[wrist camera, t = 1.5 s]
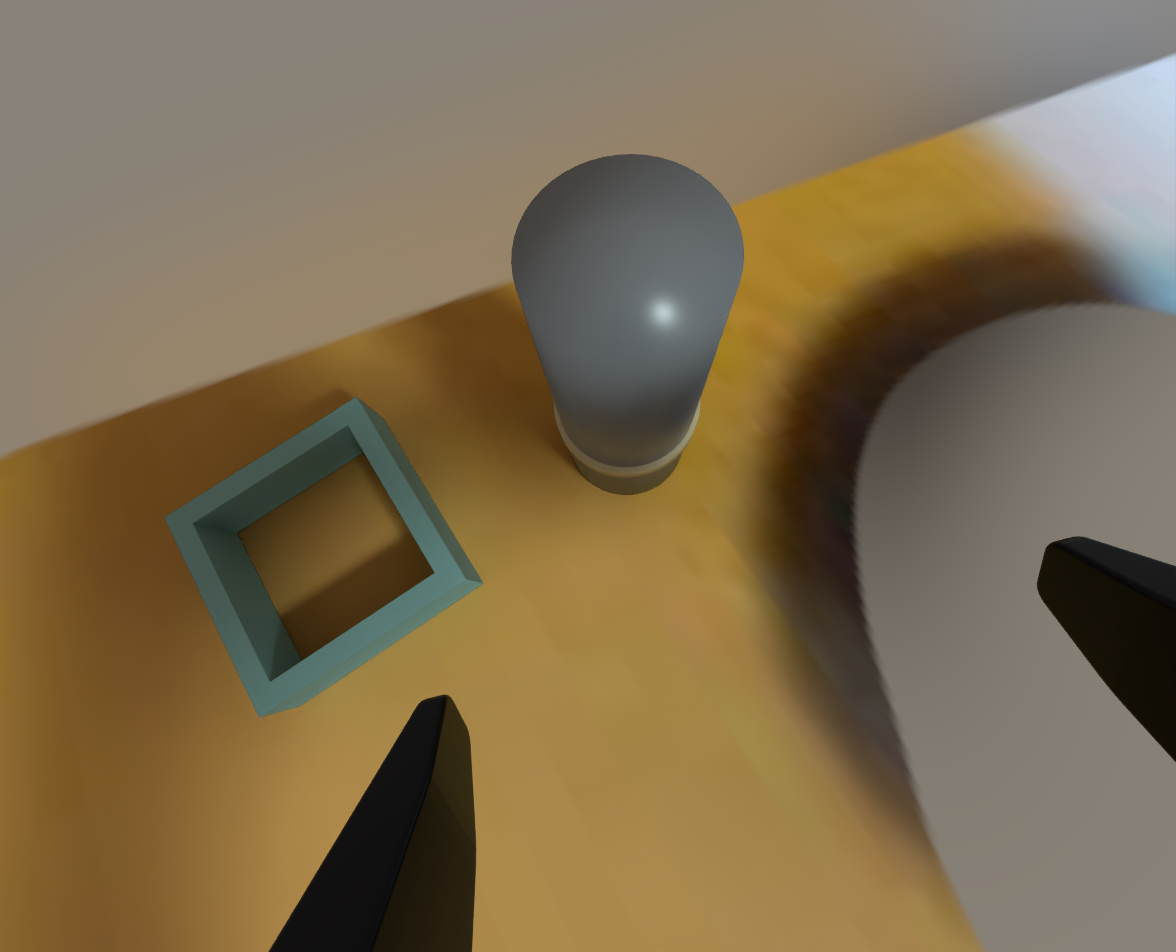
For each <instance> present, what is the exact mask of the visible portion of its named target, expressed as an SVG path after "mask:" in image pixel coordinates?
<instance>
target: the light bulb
mask: <svg viewBox="0 0 1176 952" xmlns="http://www.w3.org/2000/svg"><path fill="white" fill-rule="evenodd" d="M743 261H744V247H743V239H742V234H741V230H740V226H739V224H738V221H737V219H736V216H735V214H734V212H733V210H732V209H731V207H730V205H729V203H728V202H727V201H726V199H725V198H724V197H723V195H722V194H721V193H720V192H719V191H718V190H717V189H716V188H715V187H714V186H713V185H712V184H711V183H710V182H709V181H707V180H706V179H705V178H703V177H702V176H701V175H700V174H698V173H696V172H694V171H693V170H691V169H689V168H687V167H685V166H683V165H681V164H678V163H676V162H673V161H670V160H667V159H663V158H659V157H653V156H648V155H636V154H626V155H614V156H607V157H602V158H598V159H595V160H591V161H588V162H585V163H583V164H580V165H578V166H575V167H574V168H572V169H570V170H568V171H566V172H564V173H563V174H561V175H560V176H558V177H557V178H556V179H554V180H552V181H551V182H550V183H549V184H548V185H547V186H546V187H544V188H543V189H542V190H541V191H540V192H539V194H538V195H537V196H536V197H535V198H534V199H533V200H532V202H531V203H530V205H529V206H528V208H527V209H526V211H525V212H524V214H523V216H522V218H521V220H520V222H519V225H518V227H517V230H516V234H515V236H514V241H513V247H512V261H511V264H512V273H513V279H514V283H515V287H516V290H517V293H518V296H519V299H520V302H521V305H522V308H523V311H524V314H525V317H526V320H527V323H528V326H529V329H530V332H531V335H532V338H533V341H534V344H535V347H536V350H537V353H538V356H539V359H540V361H541V364H542V367H543V370H544V373H545V376H546V379H547V382H548V385H549V388H550V391H551V394H552V397H553V400H554V402H553V407H554V416H555V419H556V423H557V426H558V429H559V432H560V434H561V437H562V439H563V441H564V443H565V444H566V446H567V448H568V449H569V450H570V451H571V454H572V457H573V459H574V462H575V464H576V466H577V468H578V469H579V471H580V472H581V473H582V475H583V476H584V477H585V478H586V479H587V480H588V481H589V482H590V483H592V484H593V485H595V486H596V487H598V488H600V489H602V490H604V491H607V492H610V493H614V494H620V495H633V494H639V493H643V492H646V491H649V490H651V489H653V488H655V487H657V486H658V485H660V484H661V483H662V482H664V481H665V480H666V479H667V478H668V477H669V476H670V475H671V473H672V472H673V471H674V469H675V467H676V466H677V464H678V462H679V459H680V457H681V454H682V451H683V450H684V449H685V447H686V446H687V444H688V443H689V441H690V439H691V437H692V435H693V432H694V429H695V427H696V424H697V421H698V417H699V412H700V398H701V395H702V392H703V389H704V386H705V383H706V380H707V377H708V374H709V371H710V368H711V365H712V362H713V359H714V357H715V354H716V351H717V348H718V345H719V342H720V339H721V336H722V333H723V330H724V327H725V324H726V321H727V318H728V315H729V312H730V309H731V306H732V303H733V301H734V298H735V295H736V292H737V289H738V286H739V283H740V279H741V275H742V270H743Z"/></svg>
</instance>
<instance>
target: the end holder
mask: <svg viewBox="0 0 1176 952" xmlns="http://www.w3.org/2000/svg"><path fill="white" fill-rule="evenodd" d="M363 452H364V454H365V455H366V457H367V459H368V460H369V462H370V464H371V466H372V467H373V469H374V471H375V472H376V474H377V476H378V477H379V479H380V481H381V483H382V484H383V486H384V488H385V489H386V491H387V493H388V494H389V496H390V498H391V500H392V501H393V503H394V505H395V506H396V508H397V510H398V511H399V513H400V515H401V517H402V518H403V520H404V522H405V523H406V525H407V527H408V528H409V530H410V532H411V534H412V535H413V537H414V539H415V540H416V542H417V544H418V545H419V547H420V549H421V551H422V552H423V554H424V556H425V557H426V559H427V561H428V562H429V564H430V566H431V568H432V569H433V571H434V574H432V575H431V576H429V577H428V578H426V579H425V580H423V581H422V582H420V583H419V584H417V585H416V586H414V587H413V588H411V589H410V590H408V591H407V592H405V593H404V594H402V595H401V596H399V597H398V598H396V599H395V600H393V601H392V602H390V603H388V604H387V605H385V606H384V607H382V608H381V609H379V610H378V611H376V612H375V613H373V614H372V615H370V616H369V617H367V618H366V619H364V620H363V621H361V622H360V623H358V624H357V625H355V626H354V627H352V628H351V629H349V630H348V631H346V632H345V633H343V634H342V635H340V636H339V637H337V638H336V639H334V640H333V641H331V642H330V643H328V644H327V645H325V646H324V647H322V648H321V649H319V650H318V651H316V652H315V653H313V654H312V655H310V656H308V657H307V658H305V659H304V660H302V661H301V659H300V657H299V655H298V653H297V651H296V649H295V647H294V645H293V643H292V641H291V639H290V637H289V635H288V633H287V631H286V629H285V627H284V625H283V623H282V621H281V619H280V617H279V615H278V613H277V611H276V609H275V607H274V605H273V603H272V601H271V599H270V597H269V595H268V593H267V591H266V590H265V588H264V586H263V584H262V582H261V580H260V578H259V576H258V574H257V572H256V570H255V568H254V566H253V564H252V562H251V560H250V558H249V556H248V554H247V552H246V550H245V548H244V546H243V544H242V542H241V540H240V538H239V536H238V534H237V533H238V532H239V531H241V530H242V529H244V528H245V527H247V526H249V525H250V524H252V523H253V522H255V521H256V520H258V519H260V518H261V517H263V516H264V515H266V514H267V513H269V512H271V511H272V510H274V509H275V508H277V507H278V506H280V505H282V504H283V503H285V502H286V501H288V500H289V499H291V498H293V497H294V496H296V495H297V494H299V493H300V492H302V491H304V490H305V489H307V488H308V487H310V486H311V485H313V484H315V483H316V482H318V481H319V480H321V479H322V478H324V477H325V476H327V475H329V474H330V473H332V472H333V471H335V470H336V469H338V468H340V467H341V466H343V465H344V464H346V463H347V462H349V461H351V460H352V459H354V458H355V457H357V456H358V455H360V454H362V453H363ZM164 518H165V520H166V523H167V525H168V527H169V529H170V531H171V533H172V535H173V537H174V539H175V542H176V544H177V546H178V548H179V550H180V552H181V554H182V556H183V558H184V560H185V563H186V565H187V567H188V569H189V571H190V573H191V575H192V577H193V579H194V581H195V584H196V586H197V588H198V590H199V592H200V594H201V596H202V598H203V600H204V603H205V605H206V607H207V609H208V611H209V613H210V615H211V617H212V619H213V621H214V624H215V626H216V628H217V630H218V632H219V634H220V636H221V638H222V640H223V642H224V645H225V647H226V649H227V651H228V653H229V655H230V657H231V659H232V661H233V664H234V666H235V668H236V670H237V672H238V674H239V676H240V678H241V680H242V682H243V685H244V687H245V689H246V691H247V693H248V695H249V697H250V699H251V701H252V704H253V706H254V708H255V710H256V712H257V714H258V716H259V717H262V716H266V715H270V714H273V713H277V712H281V711H284V710H288V709H292V708H295V707H299V706H301V705H302V704H304V703H305V702H307V701H308V700H310V699H311V698H313V697H314V696H316V695H317V694H319V693H320V692H322V691H323V690H325V689H326V688H328V687H329V686H331V685H332V684H334V683H335V682H337V681H338V680H340V679H341V678H343V677H344V676H346V675H347V674H349V673H350V672H352V671H353V670H355V669H356V668H358V667H359V666H361V665H362V664H364V663H365V662H367V661H368V660H370V659H371V658H373V657H374V656H376V655H377V654H379V653H380V652H382V651H383V650H385V649H386V648H388V647H389V646H391V645H392V644H394V643H395V642H397V641H398V640H400V639H401V638H403V637H404V636H406V635H407V634H409V633H410V632H412V631H413V630H414V629H416V628H417V627H419V626H420V625H422V624H423V623H425V622H426V621H428V620H429V619H431V618H432V617H434V616H435V615H437V614H438V613H440V612H441V611H443V610H444V609H446V608H447V607H449V606H450V605H452V604H453V603H455V602H456V601H458V600H459V599H461V598H462V597H464V596H465V595H467V594H468V593H470V592H471V591H473V590H474V589H476V588H477V587H479V586H480V585H482V584H483V582H482V580H481V579H480V577H479V575H478V574H477V572H476V570H475V569H474V567H473V566H472V564H471V562H470V561H469V559H468V557H467V556H466V554H465V552H464V551H463V549H462V547H461V546H460V544H459V543H458V541H457V539H456V538H455V536H454V534H453V533H452V531H451V529H450V528H449V526H448V524H447V523H446V521H445V519H444V518H443V516H442V515H441V513H440V511H439V510H438V508H437V506H436V505H435V503H434V501H433V500H432V498H431V496H430V495H429V493H428V492H427V490H426V488H425V487H424V485H423V483H422V482H421V480H420V478H419V477H418V475H417V473H416V472H415V470H414V468H413V467H412V465H411V464H410V462H409V460H408V459H407V457H406V455H405V454H404V452H403V450H402V449H401V447H400V445H399V444H398V442H397V440H396V439H395V437H394V436H393V434H392V432H391V431H390V429H389V427H388V426H387V424H386V422H385V421H384V419H383V418H382V417H381V416H379V415H378V414H377V413H376V412H374V411H373V410H372V409H371V408H370V407H368V406H367V405H366V404H365V403H363V402H362V401H361V400H360V399H358V398H357V397H355V398H354V399H352V400H351V401H349V402H347V403H346V404H344V405H343V406H341V407H339V408H338V409H336V410H335V411H333V412H331V413H330V414H328V415H327V416H325V417H323V418H322V419H320V420H319V421H317V422H316V423H314V424H312V425H311V426H309V427H308V428H306V429H304V430H303V431H301V432H300V433H298V434H296V435H295V436H293V437H292V438H290V439H288V440H287V441H285V442H284V443H282V444H280V445H279V446H277V447H276V448H274V449H272V450H271V451H269V452H268V453H266V454H265V455H263V456H261V457H260V458H258V459H257V460H255V461H253V462H252V463H250V464H249V465H247V466H245V467H244V468H242V469H241V470H239V471H237V472H236V473H234V474H233V475H231V476H229V477H228V478H226V479H225V480H223V481H222V482H220V483H218V484H217V485H215V486H214V487H212V488H210V489H209V490H207V491H206V492H204V493H202V494H201V495H199V496H198V497H196V498H194V499H193V500H191V501H190V502H188V503H186V504H185V505H183V506H182V507H180V508H179V509H177V510H175V511H174V512H172V513H171V514H169V515H167V516H166V517H164Z"/></svg>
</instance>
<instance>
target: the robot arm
mask: <svg viewBox="0 0 1176 952" xmlns="http://www.w3.org/2000/svg"><path fill="white" fill-rule="evenodd" d="M1037 589H1038V592H1039V595H1040V596H1041V599H1042V600H1043V602H1044V603H1045V604H1046V606H1047V607H1048V608H1049V610H1050V611H1051V612H1052V614H1053V615H1054V616H1055V617H1056V619H1057V620H1058V622H1059V623H1060V624H1061V626H1062V627H1063V628H1064V630H1065V631H1066V632H1067V634H1068V635H1069V636H1070V638H1071V639H1072V640H1073V641H1074V643H1075V644H1076V645H1077V647H1078V648H1079V649H1080V651H1081V652H1082V653H1083V655H1084V656H1085V657H1086V659H1087V660H1088V661H1089V663H1090V664H1091V665H1092V667H1093V668H1094V669H1095V670H1096V672H1097V673H1098V675H1099V676H1100V677H1101V678H1102V680H1103V681H1104V682H1105V683H1106V685H1107V686H1108V687H1109V688H1110V690H1111V691H1112V692H1113V693H1114V694H1115V696H1116V697H1117V698H1118V699H1119V700H1120V701H1121V702H1122V704H1123V705H1124V706H1125V707H1126V708H1127V709H1128V710H1129V711H1130V712H1131V714H1132V715H1133V716H1134V717H1135V718H1136V719H1137V720H1138V721H1139V722H1140V723H1141V724H1142V725H1143V727H1144V728H1145V729H1146V730H1147V731H1148V732H1149V733H1150V734H1151V736H1152V737H1153V738H1154V739H1155V740H1156V741H1157V742H1158V743H1159V744H1160V745H1161V746H1162V748H1163V749H1164V750H1165V751H1166V752H1167V753H1168V754H1169V755H1170V756H1171V757H1172V759H1173V760H1174V761H1175V762H1176V566H1174V565H1170V564H1167V563H1164V562H1161V561H1158V560H1155V559H1152V558H1149V557H1145V556H1142V555H1139V554H1136V553H1133V552H1130V551H1127V550H1124V549H1120V548H1117V547H1114V546H1111V545H1108V544H1105V543H1102V542H1099V541H1095V540H1092V539H1089V538H1086V537H1080V536H1079V537H1071V538H1067V539H1063V540H1059V541H1055V542H1052V543H1050V544H1049V545H1048V546H1047V547H1046V549H1045V553H1044V556H1043V560H1042V565H1041V569H1040V572H1039V577H1038V581H1037ZM475 875H476V831H475V814H474V796H473V779H472V762H471V745H470V737H469V732H468V729H467V726H466V724H465V723H464V721H463V719H462V717H461V715H460V713H459V711H458V709H457V707H456V705H455V703H454V702H453V700H452V698H451V697H450V696H449V695H440V696H436V697H432V698H428V699H425V700H423V701H421V702H420V703H419V704H418V706H417V707H416V709H415V710H414V712H413V714H412V715H411V717H410V719H409V720H408V722H407V724H406V725H405V727H404V729H403V730H402V732H401V734H400V735H399V737H398V738H397V740H396V742H395V743H394V745H393V747H392V748H391V750H390V752H389V753H388V755H387V757H386V758H385V760H384V762H383V763H382V765H381V767H380V768H379V770H378V772H377V773H376V775H375V777H374V778H373V780H372V782H371V783H370V785H369V786H368V788H367V790H366V791H365V793H364V795H363V796H362V798H361V800H360V801H359V803H358V805H357V806H356V808H355V810H354V811H353V813H352V815H351V816H350V818H349V820H348V821H347V823H346V825H345V826H344V828H343V829H342V831H341V833H340V834H339V836H338V838H337V839H336V841H335V843H334V844H333V846H332V848H331V849H330V851H329V853H328V854H327V856H326V858H325V859H324V861H323V863H322V864H321V866H320V868H319V869H318V871H317V872H316V874H315V876H314V877H313V879H312V881H311V882H310V884H309V886H308V887H307V889H306V891H305V892H304V894H303V896H302V897H301V899H300V901H299V902H298V904H297V906H296V907H295V909H294V911H293V912H292V914H291V915H290V917H289V919H288V920H287V922H286V924H285V925H284V927H283V929H282V930H281V932H280V934H279V935H278V937H277V939H276V940H275V942H274V944H273V945H272V947H271V949H270V950H269V952H472V939H473V918H474V897H475Z"/></svg>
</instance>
